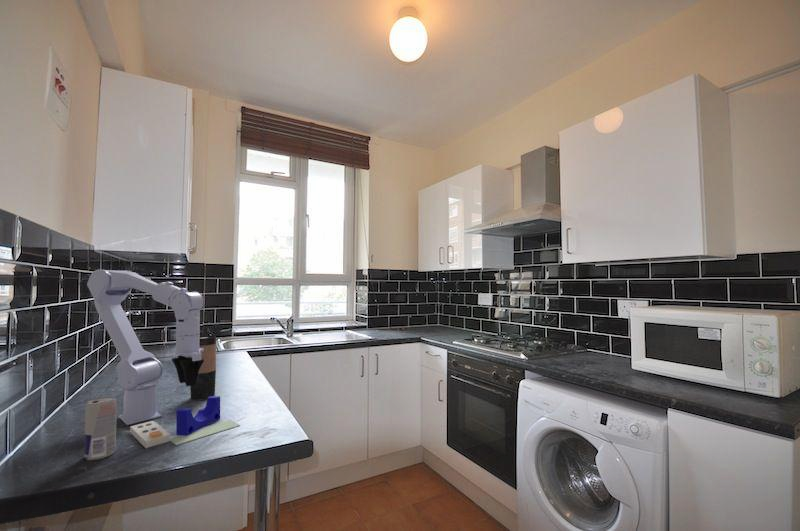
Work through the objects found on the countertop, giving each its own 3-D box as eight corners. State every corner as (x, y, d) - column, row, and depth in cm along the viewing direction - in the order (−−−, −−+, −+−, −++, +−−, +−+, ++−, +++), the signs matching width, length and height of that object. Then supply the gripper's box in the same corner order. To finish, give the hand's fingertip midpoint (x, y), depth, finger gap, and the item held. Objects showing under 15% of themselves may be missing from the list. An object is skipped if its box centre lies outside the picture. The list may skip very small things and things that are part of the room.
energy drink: (96, 450, 82) (97, 396, 83) (121, 448, 83) (122, 395, 83) (77, 461, 77) (79, 404, 77) (104, 460, 77) (105, 403, 78)
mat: (167, 438, 88) (167, 437, 88) (230, 420, 99) (230, 419, 99) (176, 445, 84) (176, 444, 84) (239, 425, 95) (239, 424, 95)
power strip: (130, 432, 92) (130, 424, 92) (153, 426, 96) (153, 418, 96) (145, 448, 83) (145, 438, 83) (170, 440, 87) (170, 431, 87)
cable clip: (206, 417, 101) (206, 396, 102) (220, 418, 101) (220, 396, 101) (171, 434, 90) (171, 410, 90) (186, 435, 89) (186, 410, 89)
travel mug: (220, 395, 122) (220, 336, 123) (197, 401, 116) (198, 339, 117) (207, 392, 126) (208, 334, 127) (185, 398, 120) (185, 337, 121)
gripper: (213, 335, 99) (213, 384, 99) (193, 331, 109) (193, 376, 108) (185, 338, 94) (184, 391, 93) (167, 334, 104) (166, 381, 103)
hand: (187, 383), depth 101 cm, fingers open, 4 cm apart
